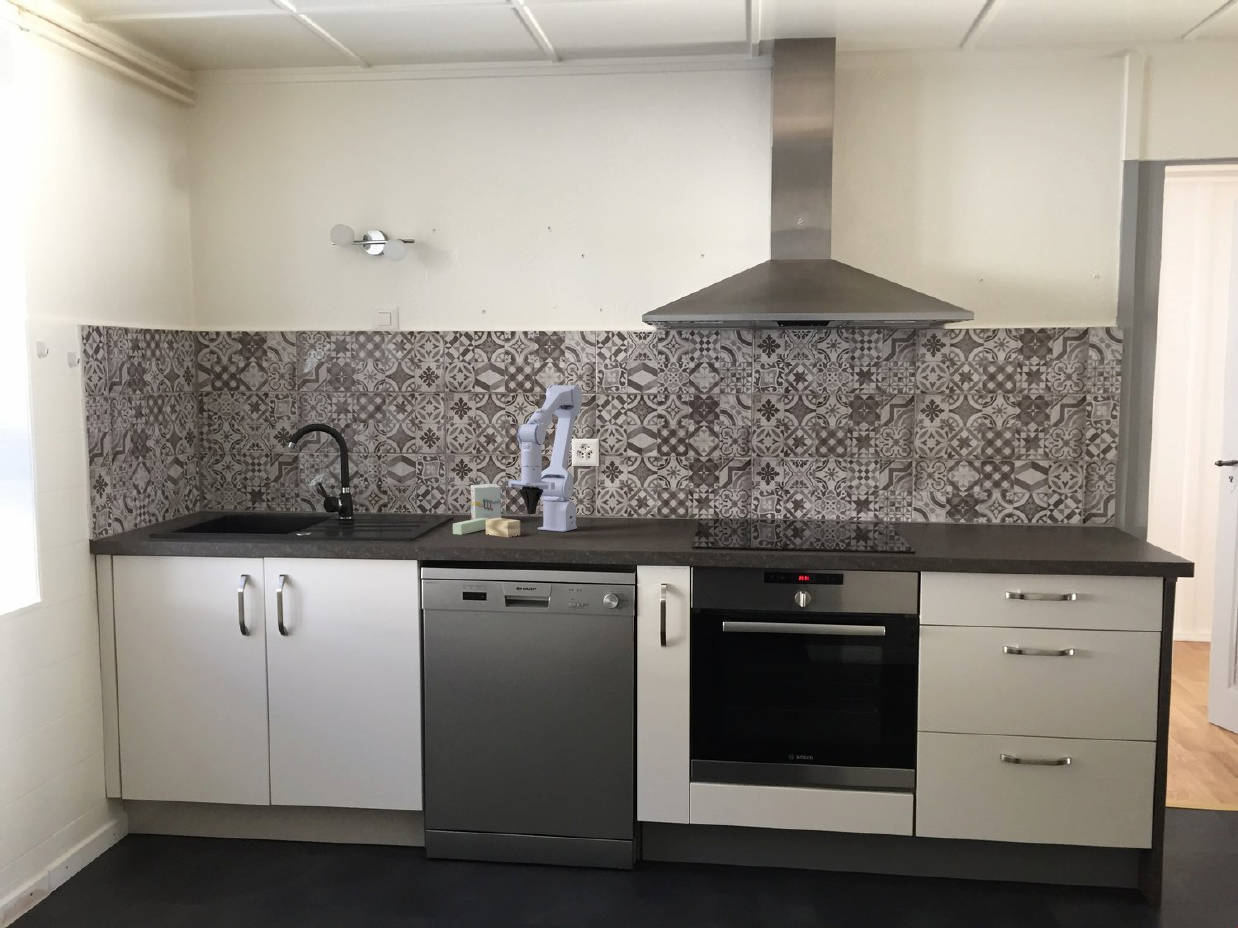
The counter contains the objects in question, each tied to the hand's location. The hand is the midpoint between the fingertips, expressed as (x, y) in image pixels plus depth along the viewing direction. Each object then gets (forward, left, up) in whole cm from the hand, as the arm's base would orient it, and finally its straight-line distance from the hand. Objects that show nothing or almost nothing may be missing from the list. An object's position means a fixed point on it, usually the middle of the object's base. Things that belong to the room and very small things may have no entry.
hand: (531, 513), depth 281 cm
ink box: (+29, -18, -7) cm, 35 cm away
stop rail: (+22, -1, -7) cm, 23 cm away
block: (+10, 0, -7) cm, 12 cm away
